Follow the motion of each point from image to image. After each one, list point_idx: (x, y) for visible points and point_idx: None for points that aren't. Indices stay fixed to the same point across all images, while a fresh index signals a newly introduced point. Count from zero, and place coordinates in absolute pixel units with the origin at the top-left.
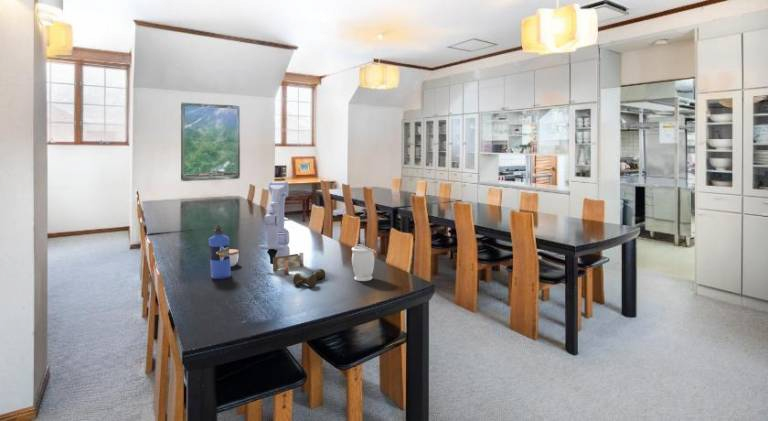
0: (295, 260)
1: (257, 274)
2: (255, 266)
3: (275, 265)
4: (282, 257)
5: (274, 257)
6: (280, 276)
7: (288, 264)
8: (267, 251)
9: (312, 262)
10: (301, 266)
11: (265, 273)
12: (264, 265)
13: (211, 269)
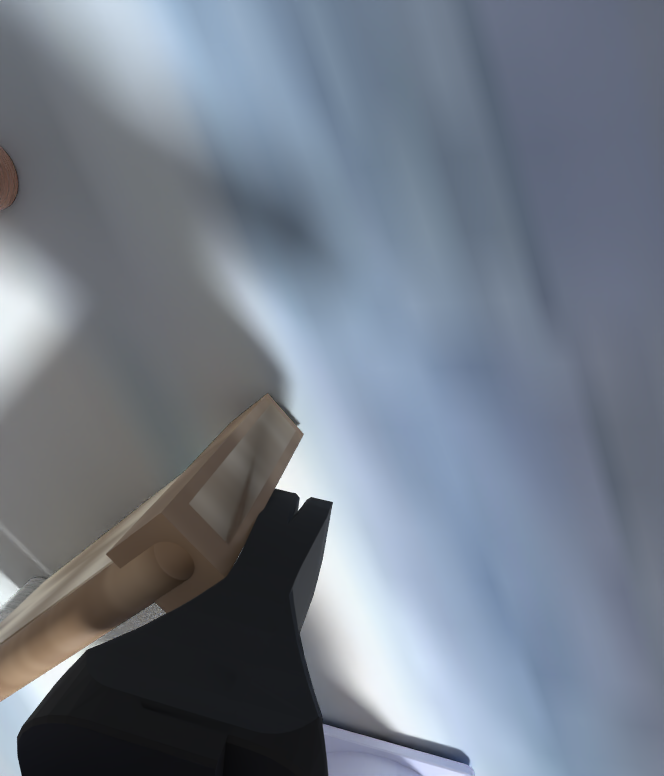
0: (4, 625)
1: (484, 141)
2: (655, 634)
3: (221, 439)
4: (53, 604)
5: (157, 550)
6: (22, 52)
7: (98, 543)
8: (287, 762)
9: (27, 709)
10: (36, 578)
11: (354, 231)
12: (522, 667)
13: None
